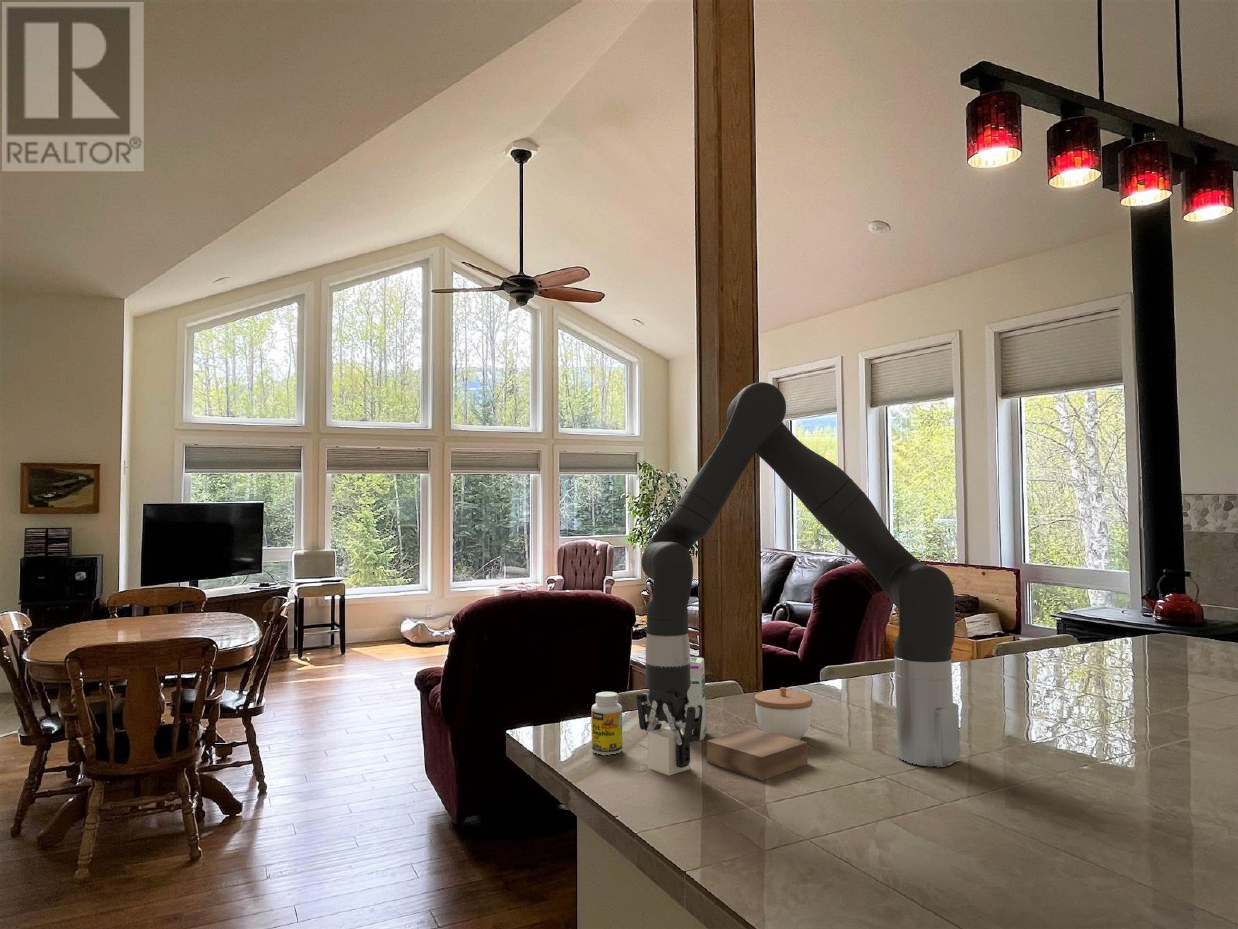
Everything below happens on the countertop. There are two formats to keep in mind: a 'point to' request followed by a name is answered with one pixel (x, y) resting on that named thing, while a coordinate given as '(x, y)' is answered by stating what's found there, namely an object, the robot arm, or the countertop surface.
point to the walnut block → (757, 753)
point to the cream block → (663, 751)
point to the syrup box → (697, 690)
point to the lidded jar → (784, 712)
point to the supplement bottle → (606, 724)
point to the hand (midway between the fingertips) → (669, 761)
